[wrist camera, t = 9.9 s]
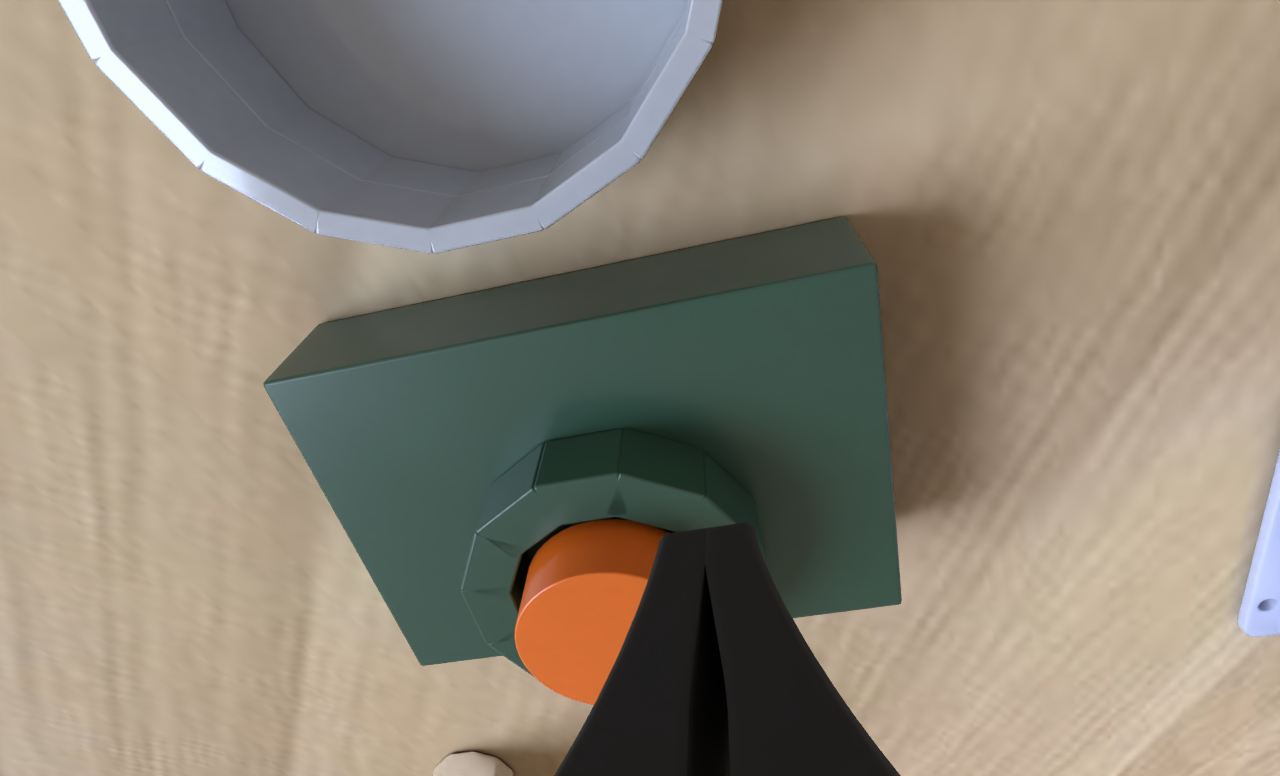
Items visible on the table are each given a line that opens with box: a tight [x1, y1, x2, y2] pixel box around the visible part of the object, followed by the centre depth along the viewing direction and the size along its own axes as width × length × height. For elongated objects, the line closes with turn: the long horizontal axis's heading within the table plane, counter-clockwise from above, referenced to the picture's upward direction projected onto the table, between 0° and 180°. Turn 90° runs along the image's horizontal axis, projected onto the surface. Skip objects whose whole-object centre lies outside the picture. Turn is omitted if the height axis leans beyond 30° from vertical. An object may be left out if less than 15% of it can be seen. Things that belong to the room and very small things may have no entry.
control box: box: [264, 216, 902, 676], centre depth 19 cm, size 10×14×5 cm
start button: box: [515, 519, 668, 705], centre depth 17 cm, size 4×4×2 cm
